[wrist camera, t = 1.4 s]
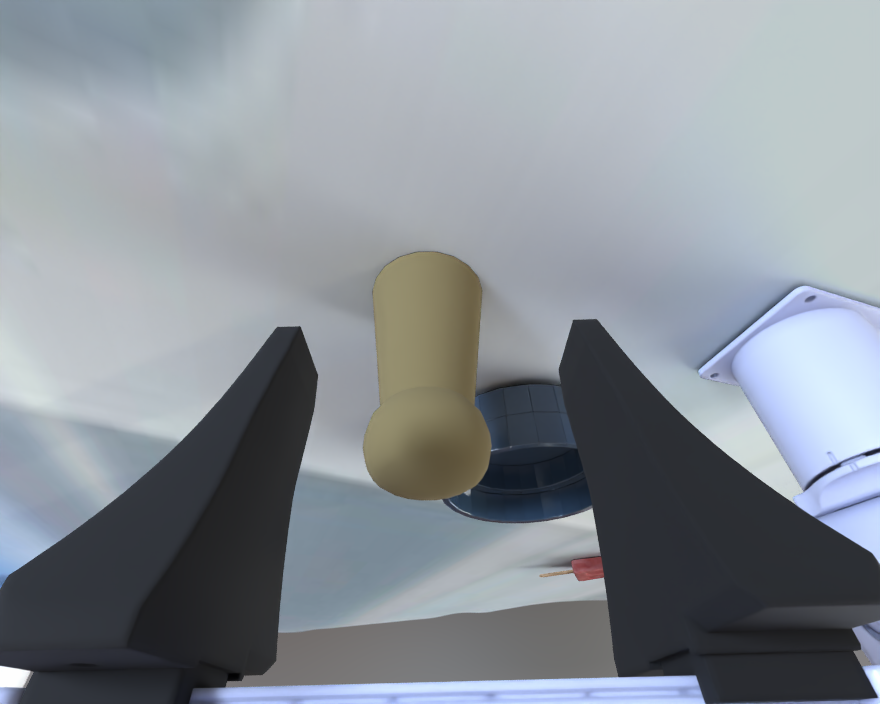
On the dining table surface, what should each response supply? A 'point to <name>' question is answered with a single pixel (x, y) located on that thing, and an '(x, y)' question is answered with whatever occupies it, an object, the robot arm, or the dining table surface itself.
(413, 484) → the cork
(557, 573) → the popsicle
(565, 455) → the dark blue bowl
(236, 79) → the dining table surface
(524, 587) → the dining table surface
